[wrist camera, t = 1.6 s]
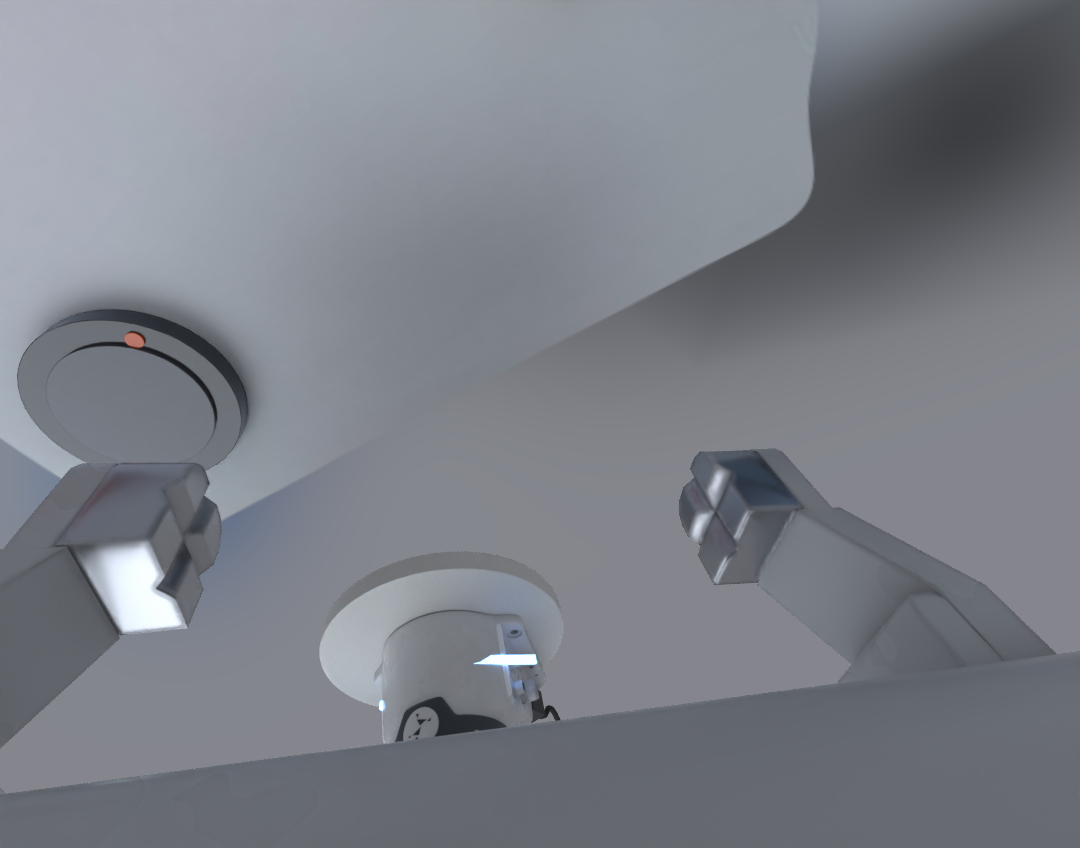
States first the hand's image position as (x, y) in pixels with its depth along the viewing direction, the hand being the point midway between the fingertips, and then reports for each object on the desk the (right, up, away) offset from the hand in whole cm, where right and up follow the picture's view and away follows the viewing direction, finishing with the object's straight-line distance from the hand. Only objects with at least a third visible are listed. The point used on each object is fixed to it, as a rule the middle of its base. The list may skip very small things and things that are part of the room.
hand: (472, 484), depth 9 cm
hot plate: (-25, +3, +26) cm, 36 cm away
